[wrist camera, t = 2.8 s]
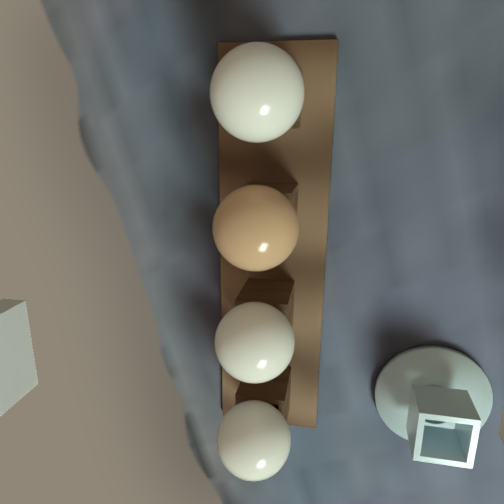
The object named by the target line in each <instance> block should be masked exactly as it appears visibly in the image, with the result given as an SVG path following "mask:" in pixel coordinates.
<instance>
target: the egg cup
mask: <svg viewBox="0 0 504 504" xmlns="http://www.w3.org/2000/svg"><path fill="white" fill-rule="evenodd" d="M375 401H376V406H377V410H378V412H379V415H380V417H381V418H382V420H383V421H384V423H385V424H386V425H387V426H388V427H389V428H390V429H391V430H392V431H393V432H395V433H396V434H397V435H399V436H401V437H402V438H404V439H406V440H409V444H410V449H411V454H412V459H413V460H415V461H422V462H429V463H436V464H443V465H449V466H456V467H463V468H470V469H473V464H474V458H475V453H476V447H477V442H478V437H479V431H480V428H481V427H482V426H483V425H484V423H485V422H486V420H487V419H488V417H489V414H490V412H491V409H492V403H493V394H492V389H491V386H490V383H489V381H488V379H487V377H486V375H485V374H484V372H483V370H482V369H481V368H480V367H479V365H478V364H477V363H476V362H475V361H474V360H472V359H471V358H470V357H468V356H467V355H465V354H463V353H461V352H459V351H457V350H454V349H451V348H448V347H443V346H432V345H429V346H419V347H414V348H411V349H408V350H405V351H403V352H401V353H399V354H397V355H396V356H394V357H393V358H392V359H390V360H389V361H388V362H387V363H386V364H385V365H384V367H383V368H382V369H381V371H380V373H379V375H378V377H377V380H376V384H375Z"/></svg>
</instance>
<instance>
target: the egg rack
mask: <svg viewBox="0 0 504 504" xmlns="http://www.w3.org/2000/svg"><path fill="white" fill-rule="evenodd" d="M338 41H339V39H330V40H295V41H259V42H266V43H270V44H273V45H276V46H277V47H279V48H281V49H283V50H284V51H285V52H287V53H288V54H289V55H290V56H291V57H292V58H293V60H294V61H295V62H296V64H297V65H298V67H299V69H300V72H301V74H302V77H303V81H304V91H305V95H304V103H303V107H302V110H301V113H300V115H299V117H298V119H297V120H296V122H295V123H294V124H293V126H292V127H291V128H290V129H289V130H288V131H287V132H285V133H284V134H283V135H281V136H280V137H278V138H276V139H274V140H271V141H267V142H261V143H254V142H247V141H243V140H240V139H238V138H236V137H234V136H233V135H231V134H230V133H228V132H227V131H226V130H225V129H224V128H223V127H222V125H221V124H220V123H219V187H220V203H221V201H222V200H223V199H224V198H225V197H226V196H227V195H228V194H229V193H231V192H232V191H234V190H236V189H238V188H240V187H243V186H247V185H256V184H258V185H265V186H269V187H271V188H274V189H276V190H278V191H279V192H281V193H282V194H283V195H285V196H286V197H287V198H288V199H289V201H290V202H291V203H292V205H293V206H294V208H295V210H296V213H297V216H298V220H299V236H298V240H297V243H296V246H295V248H294V249H293V251H292V253H291V254H290V255H289V257H288V258H287V259H286V260H285V261H284V262H282V263H281V264H279V265H278V266H276V267H274V268H272V269H269V270H265V271H246V270H243V269H240V268H237V267H236V266H234V265H232V264H231V263H229V262H228V261H227V260H226V259H225V258H224V257H223V256H222V255H221V253H220V258H221V320H222V318H223V317H224V316H225V314H226V313H227V312H228V311H230V310H231V309H232V308H234V307H236V306H238V305H240V304H243V303H247V302H263V303H267V304H269V305H272V306H273V307H275V308H277V309H278V310H280V311H281V312H282V313H283V314H284V315H285V317H286V318H287V319H288V321H289V322H290V324H291V326H292V329H293V333H294V338H295V346H294V353H293V356H292V359H291V361H290V363H289V364H288V366H287V367H286V369H285V370H284V371H283V372H282V373H281V374H280V375H278V376H277V377H276V378H274V379H272V380H270V381H267V382H264V383H256V384H254V383H246V382H242V381H240V380H237V379H236V378H234V377H232V376H231V375H230V374H229V373H227V372H226V371H225V369H224V368H223V367H222V399H223V416H224V415H225V414H226V413H227V412H228V411H229V410H230V409H231V408H232V407H233V406H235V405H237V404H239V403H241V402H244V401H248V400H259V401H264V402H266V403H269V404H271V405H272V406H274V407H275V408H276V409H277V410H279V411H280V413H281V414H282V415H283V416H284V418H285V420H286V422H287V424H288V425H296V426H303V427H310V428H316V417H317V400H318V383H319V366H320V349H321V332H322V315H323V298H324V281H325V263H326V246H327V229H328V212H329V195H330V178H331V161H332V144H333V127H334V110H335V93H336V76H337V59H338ZM245 43H249V42H224V43H217V46H218V63H219V62H220V60H221V59H222V58H223V57H224V56H225V55H226V54H227V53H228V52H229V51H230V50H232V49H234V48H235V47H237V46H239V45H242V44H245Z"/></svg>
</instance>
